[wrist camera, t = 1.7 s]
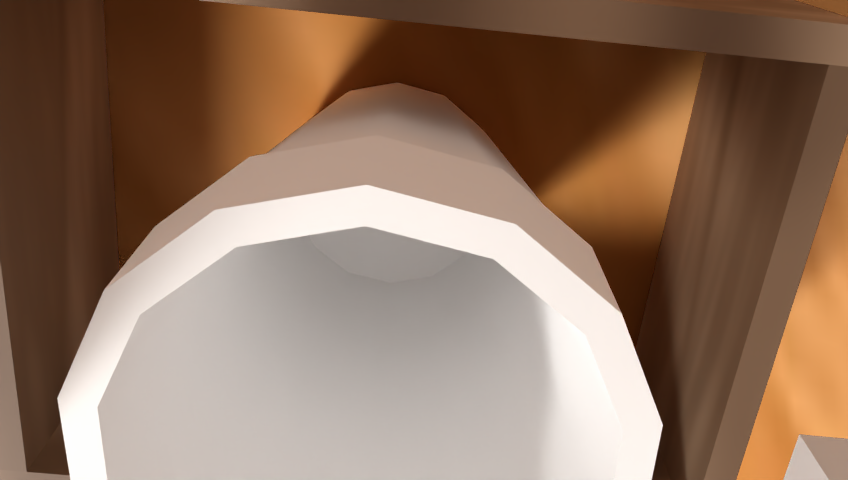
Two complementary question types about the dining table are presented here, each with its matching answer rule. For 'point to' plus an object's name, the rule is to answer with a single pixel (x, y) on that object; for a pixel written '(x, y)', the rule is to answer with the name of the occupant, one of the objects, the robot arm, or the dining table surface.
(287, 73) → the dining table surface
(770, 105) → the crate
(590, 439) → the foam cup
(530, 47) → the dining table surface
